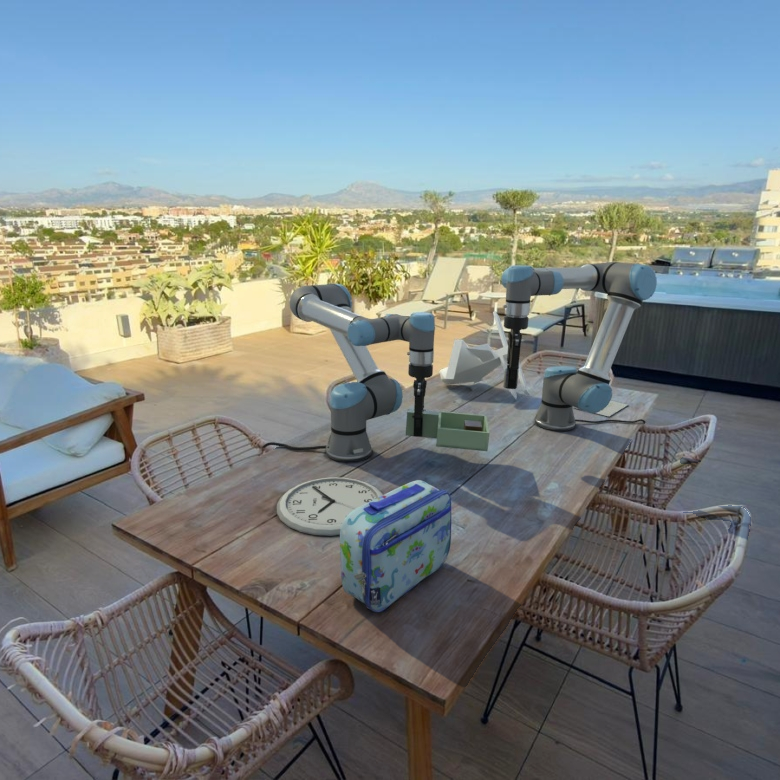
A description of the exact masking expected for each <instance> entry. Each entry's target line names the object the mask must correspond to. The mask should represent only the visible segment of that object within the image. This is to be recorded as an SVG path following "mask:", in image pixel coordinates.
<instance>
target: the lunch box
mask: <svg viewBox="0 0 780 780" xmlns="http://www.w3.org/2000/svg"><path fill="white" fill-rule="evenodd" d="M383 494H384V495H382V496H380V497H378V498H376V499H374V500H372V501H370V502H368V503H366V504H364V505H362V506H360V507H358V508H356V509H354V510H353V511H351V512H350V513H349V514H348V515H347V516H346V518H345V519H344V521H343V523H342V526H341V530H340V535H339V551H340V574H341V576H340V577H341V585H342V588H343V589H342V590H343V591H344V593H346V594H348V595H350V596H352V597H353V598H355V599H357V600H358V601H359V602H361V603H362V604H364V605H365V606H366V608H367V609H369V610H370V611H371V612H374V613H381V612H384V611H385V610H386V609H387V608H389V607H390V606H391V605H392V604H393V603H395V602H396V601H397V600H399V599H400V598H401V597H402V596H404V595H405V594H407V593H408V592H410V591H411V590H412V589H413V588H415V587H416V586H417V585H418V584H419V583H420V582H421V581H423V580H425V579H426V578H427V577H429V576H430V575H432V574H434V573H435V572H436V571H438V570H439V569H440V568H441V567H442V566H443V565H444V563H445V562H446V560H447V558H448V556H449V553H450V550H451V549H450V548H451V545H452V543H451V542H452V497H451V494H450V492H449V491H448V490H446V489H438V488H437V487H435V486H434V485H431V484H429V483H427V482H426V481H424V480H421V479H416V480H413V481H410V482H408V483H405V484H403V485H401V486H399V487H397V488H394V489H393V490H390V491H388V492H387V493H383Z"/></svg>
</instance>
